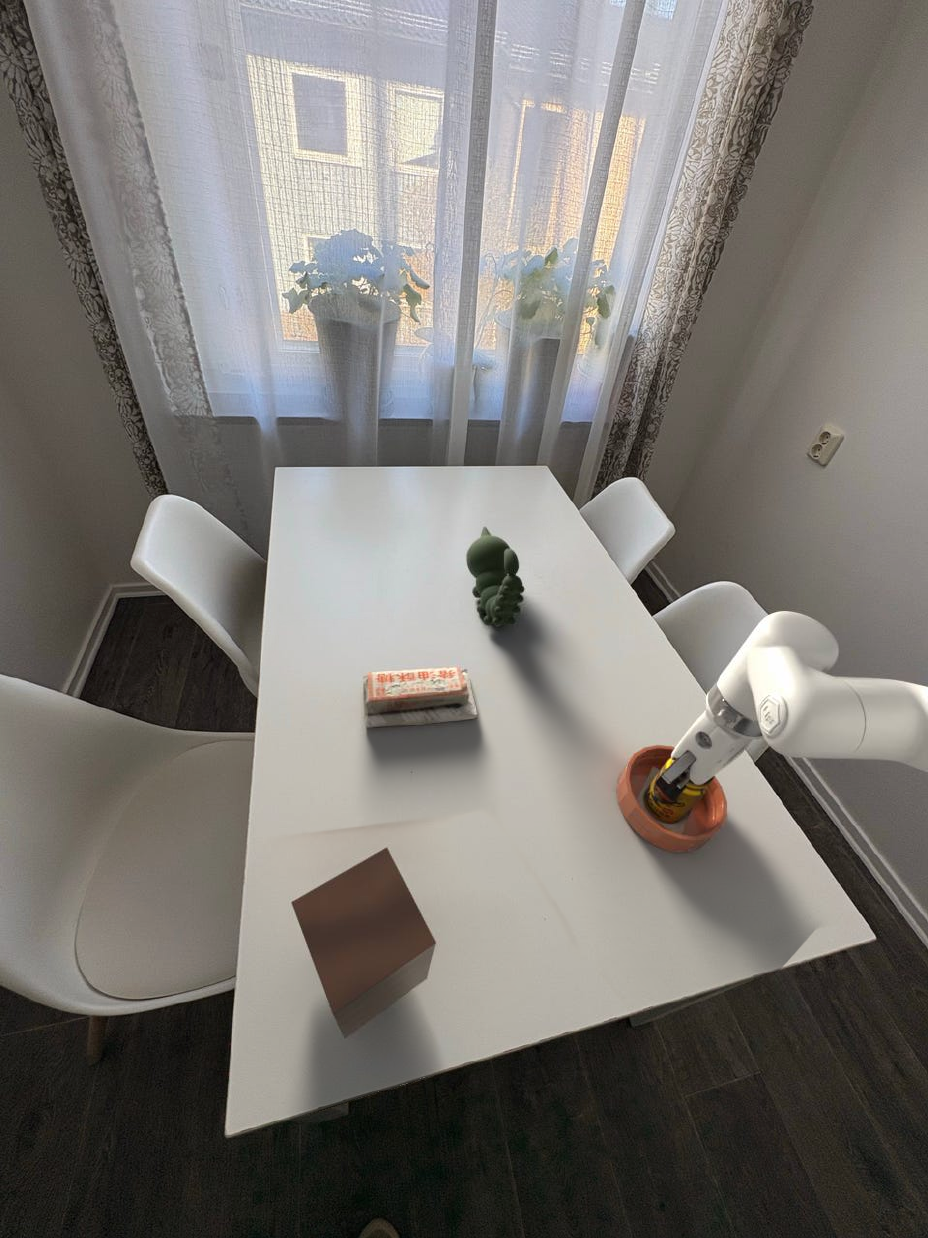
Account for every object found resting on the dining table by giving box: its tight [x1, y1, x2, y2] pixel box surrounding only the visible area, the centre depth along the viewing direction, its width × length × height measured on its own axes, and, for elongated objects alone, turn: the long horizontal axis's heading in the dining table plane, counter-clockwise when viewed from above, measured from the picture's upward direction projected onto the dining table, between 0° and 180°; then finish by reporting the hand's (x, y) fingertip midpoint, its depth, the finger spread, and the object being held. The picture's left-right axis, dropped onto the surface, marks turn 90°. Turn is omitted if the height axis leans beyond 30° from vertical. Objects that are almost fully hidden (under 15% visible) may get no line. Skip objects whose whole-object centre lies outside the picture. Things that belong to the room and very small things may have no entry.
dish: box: [616, 744, 728, 853], centre depth 75 cm, size 14×14×4 cm
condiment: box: [636, 758, 716, 835], centre depth 73 cm, size 7×8×12 cm
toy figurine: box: [465, 526, 525, 627], centre depth 99 cm, size 9×19×25 cm
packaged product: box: [362, 666, 478, 729], centre depth 84 cm, size 18×5×10 cm
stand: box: [290, 847, 437, 1039], centre depth 53 cm, size 10×10×16 cm
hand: (681, 779), depth 71 cm, fingers closed on condiment, 6 cm apart
